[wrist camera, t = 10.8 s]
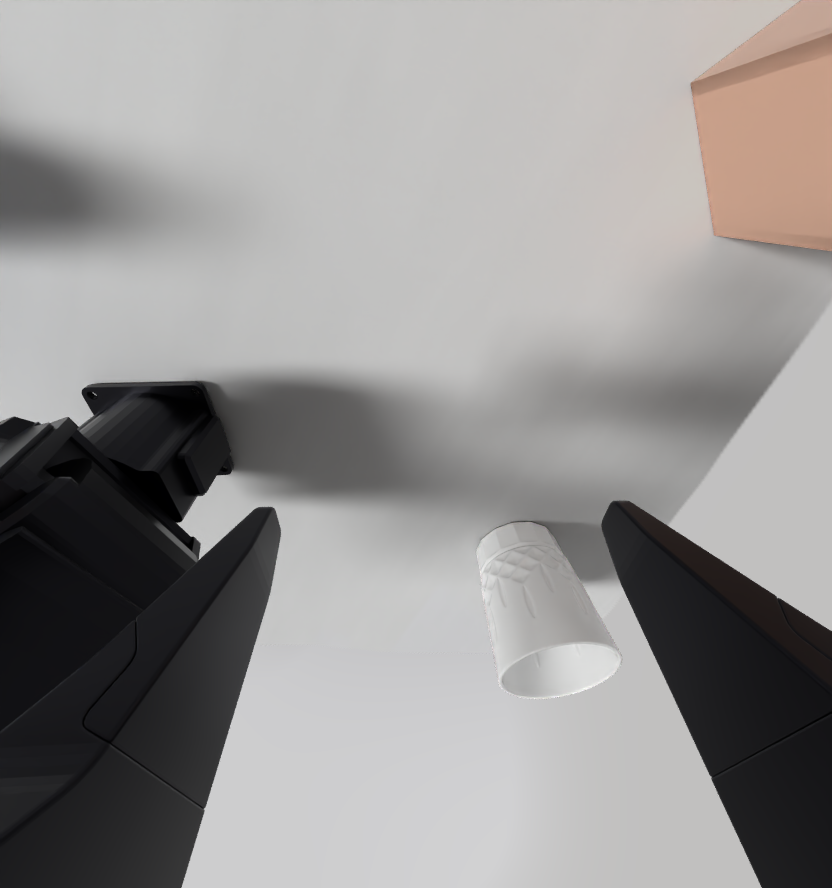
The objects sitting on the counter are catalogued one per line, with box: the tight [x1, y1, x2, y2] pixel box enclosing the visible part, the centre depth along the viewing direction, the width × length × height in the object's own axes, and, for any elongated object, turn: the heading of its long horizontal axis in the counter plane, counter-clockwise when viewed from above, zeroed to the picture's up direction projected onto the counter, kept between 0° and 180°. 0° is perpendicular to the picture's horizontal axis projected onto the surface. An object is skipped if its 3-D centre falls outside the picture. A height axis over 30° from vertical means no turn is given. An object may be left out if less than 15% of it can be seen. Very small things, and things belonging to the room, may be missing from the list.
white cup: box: [476, 522, 622, 699], centre depth 27 cm, size 8×8×10 cm
